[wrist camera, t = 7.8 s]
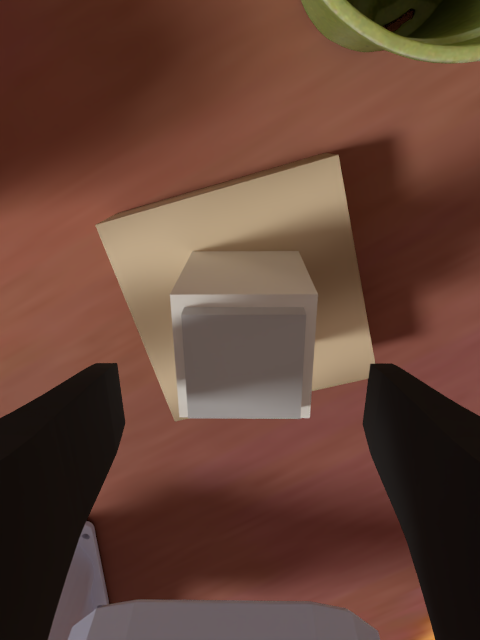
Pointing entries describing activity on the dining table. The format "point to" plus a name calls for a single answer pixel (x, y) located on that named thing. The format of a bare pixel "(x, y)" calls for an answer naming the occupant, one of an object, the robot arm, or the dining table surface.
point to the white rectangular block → (244, 335)
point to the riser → (248, 235)
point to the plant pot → (402, 27)
